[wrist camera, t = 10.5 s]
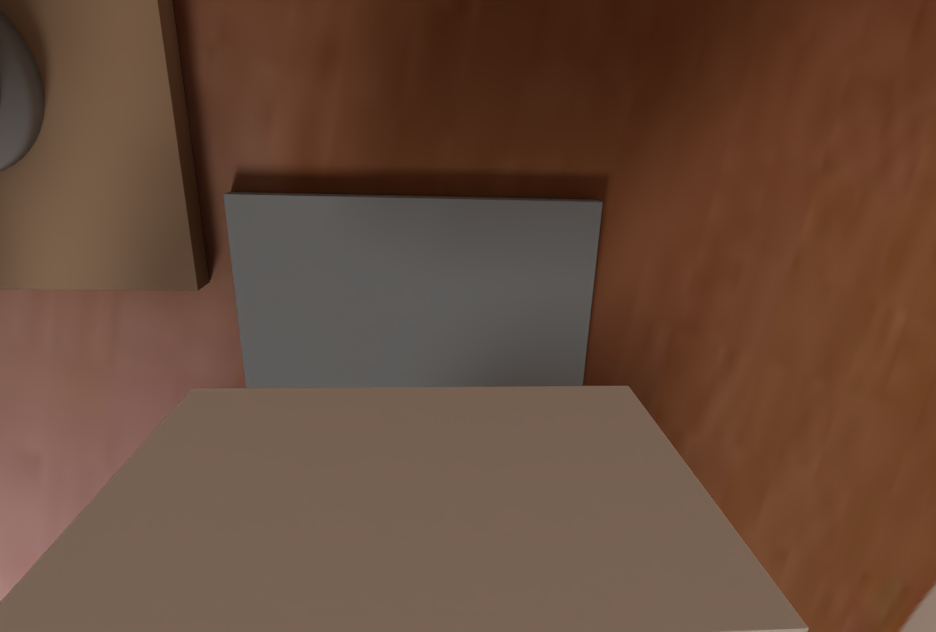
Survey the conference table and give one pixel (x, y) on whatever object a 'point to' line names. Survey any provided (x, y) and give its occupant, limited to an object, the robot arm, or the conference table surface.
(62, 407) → the conference table surface
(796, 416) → the conference table surface
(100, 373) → the conference table surface
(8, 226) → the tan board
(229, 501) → the white cube
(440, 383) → the mat
